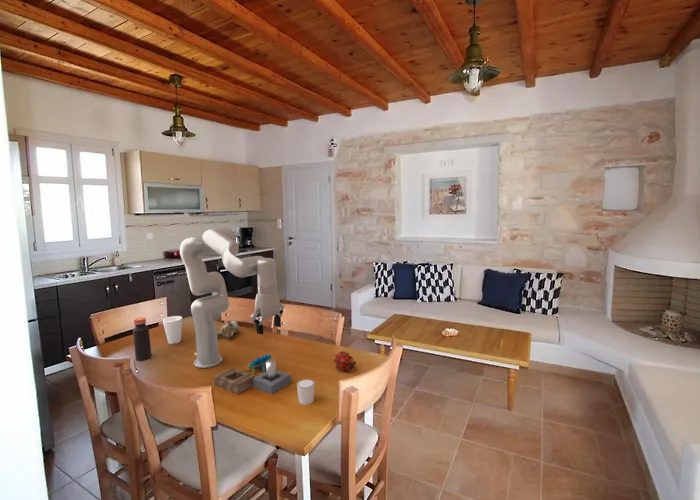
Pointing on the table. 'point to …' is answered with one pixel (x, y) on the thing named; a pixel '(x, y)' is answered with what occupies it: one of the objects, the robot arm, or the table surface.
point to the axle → (271, 370)
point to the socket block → (269, 386)
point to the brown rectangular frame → (234, 380)
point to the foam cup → (173, 328)
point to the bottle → (141, 339)
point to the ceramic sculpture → (228, 329)
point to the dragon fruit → (344, 361)
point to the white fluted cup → (306, 391)
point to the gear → (259, 362)
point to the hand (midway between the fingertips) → (269, 330)
